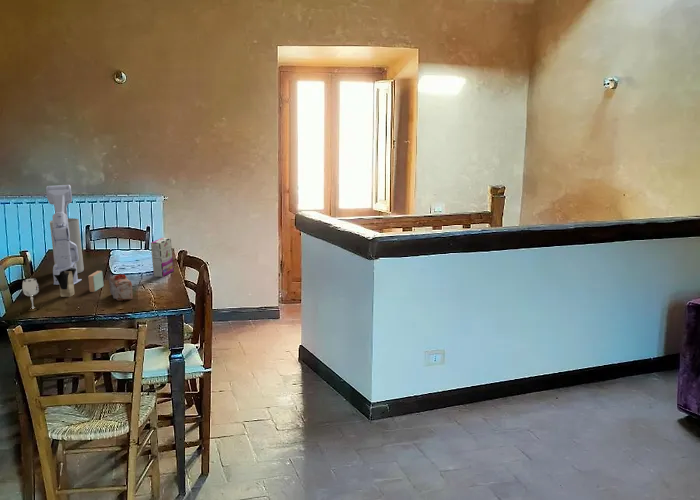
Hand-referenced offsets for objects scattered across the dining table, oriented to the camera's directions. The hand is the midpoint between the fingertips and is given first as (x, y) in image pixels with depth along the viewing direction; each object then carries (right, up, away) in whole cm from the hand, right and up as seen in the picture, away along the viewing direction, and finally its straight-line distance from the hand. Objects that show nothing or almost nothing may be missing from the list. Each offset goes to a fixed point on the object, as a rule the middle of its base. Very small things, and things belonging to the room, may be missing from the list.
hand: (66, 287), depth 276 cm
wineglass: (-5, -8, -18) cm, 21 cm away
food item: (+24, -4, -3) cm, 24 cm away
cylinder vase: (-16, +5, +40) cm, 43 cm away
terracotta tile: (+9, -1, +10) cm, 13 cm away
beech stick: (0, -3, +1) cm, 3 cm away
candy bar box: (+31, +4, +33) cm, 46 cm away
